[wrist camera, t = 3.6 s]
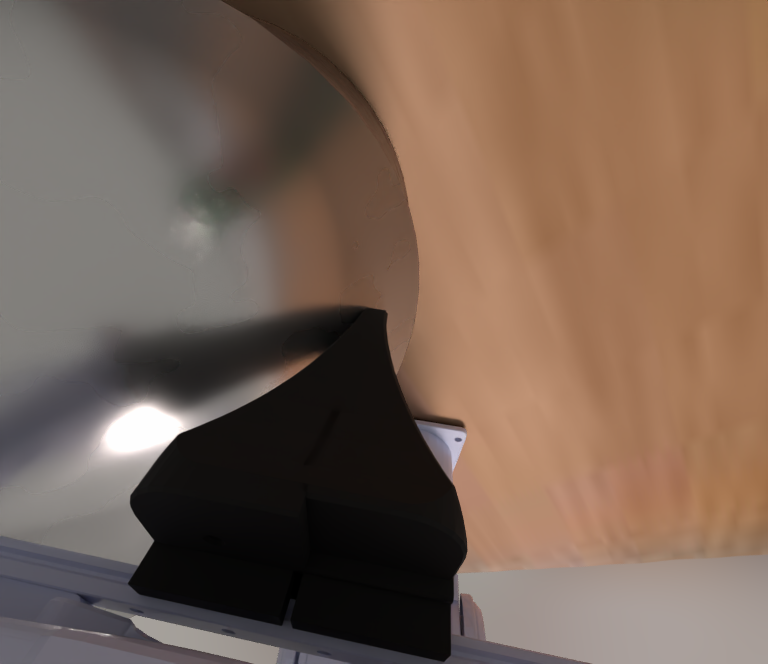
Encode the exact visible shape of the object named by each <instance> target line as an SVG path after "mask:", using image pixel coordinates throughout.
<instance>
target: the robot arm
mask: <svg viewBox="0 0 768 664" xmlns="http://www.w3.org/2000/svg"><path fill="white" fill-rule="evenodd" d="M387 317H388V313H387V312H386V310H381V309H374V308H373V309H366V310H364V311H363V312H362V313H361V314H360V315H359V317H358V318H357V319H356V320H355V321H354V323H353V324H352V325H351V326H350V327H349V328H348V329H347V330H346V331H345V332H344V333H343V334H342V335H341V336H340V337H339V338H338V339H337V340H336V341H335V342H334V343H333V344H332V345H331V346H330V347H329V348H328V349H326V350H325V351H324V352H323V353H322V354H321V355H320V356H319V357H317V358H316V359H315V360H314V361H313V362H311V363H310V364H309V365H307V366H306V367H305V368H304V369H302V370H301V371H299V372H298V373H297V374H295V375H294V376H292V377H291V378H290V379H288V380H286V381H285V382H283V383H282V384H280V385H279V386H277V387H276V388H274V389H272V390H271V391H269V392H267V393H266V394H264V395H262V396H261V397H259V398H257V399H255V400H253V401H251V402H249V403H247V404H245V405H243V406H242V407H240V408H238V409H236V410H234V411H232V412H230V413H227V414H225V415H223V416H221V417H219V418H216V419H214V420H212V421H209V422H207V423H204V424H202V425H200V426H197V427H195V428H192V429H190V430H188V431H185V432H183V433H180V434H178V435H177V436H176V437H175V439H174V440H173V441H172V442H171V443H170V444H169V445H168V446H167V447H166V449H165V450H164V451H163V452H162V453H161V455H160V456H159V457H158V459H157V460H156V461H155V463H154V464H153V465H152V467H151V468H150V469H149V471H148V472H147V473H146V475H145V476H144V477H143V479H142V480H141V481H140V483H139V484H138V486H137V487H136V488H135V490H134V491H133V492H132V494H131V495H130V506H131V509H132V511H133V513H134V515H135V516H136V518H137V519H138V520H139V521H140V523H141V524H142V525H143V527H144V528H145V529H146V531H147V532H148V533H149V535H150V536H151V537H152V538H153V540H154V542H153V544H152V545H151V547H150V548H149V550H148V552H147V553H146V555H145V556H144V558H143V560H142V561H141V563H140V564H139V566H138V565H133V564H129V563H124V562H119V561H115V560H110V559H105V558H101V557H96V556H92V555H87V554H82V553H78V552H73V551H69V550H64V549H59V548H55V547H50V546H45V545H41V544H36V543H32V542H27V541H22V540H18V539H13V538H8V537H4V536H0V664H252V663H248V662H244V661H240V660H236V659H231V658H227V657H223V656H219V655H214V654H210V653H205V652H201V651H197V650H192V649H187V648H182V647H178V646H173V645H168V644H163V643H161V642H159V641H158V640H155V639H154V638H152V637H150V636H148V635H146V634H145V633H143V632H142V631H141V630H139V629H138V628H136V627H135V625H134V624H133V622H132V621H131V620H130V619H128V618H126V617H123V616H120V615H117V614H114V613H111V612H108V611H105V610H102V609H99V608H96V607H93V606H98V607H102V608H107V609H111V610H116V611H120V612H124V613H129V614H133V615H138V616H142V617H147V618H151V619H156V620H160V621H165V622H169V623H174V624H178V625H182V626H187V627H191V628H195V629H200V630H204V631H209V632H213V633H218V634H222V635H226V636H231V637H235V638H240V639H244V640H249V641H253V642H257V643H262V644H266V645H271V646H275V647H280V648H279V653H278V658H277V663H276V664H590V663H586V662H581V661H576V660H572V659H566V658H563V657H558V656H553V655H549V654H544V653H540V652H535V651H530V650H525V649H520V648H516V647H511V646H507V645H502V644H498V643H493V642H489V641H486V637H485V629H484V622H483V617H482V612H481V610H480V608H479V607H478V606H477V605H476V604H475V602H473V599H472V597H471V596H470V595H469V594H460V609H459V593H458V575H457V574H456V573H457V571H458V570H459V568H460V566H461V565H462V563H463V562H464V560H465V558H466V554H467V538H466V531H465V525H464V520H463V515H462V511H461V507H460V503H459V500H458V496H457V493H456V489H455V487H454V485H453V475H452V473H453V470H454V467H455V465H456V462H457V460H458V457H459V455H460V452H461V449H462V447H463V444H464V442H465V439H466V436H467V431H466V429H464V428H462V427H457V426H451V425H445V424H439V423H433V422H426V421H420V420H414V418H413V416H412V414H411V412H410V410H409V408H408V405H407V403H406V401H405V398H404V396H403V393H402V391H401V388H400V385H399V382H398V379H397V376H396V373H395V370H394V366H393V362H392V358H391V354H390V349H389V344H388V338H387Z"/></svg>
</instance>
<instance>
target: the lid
mask: <svg viewBox="0 0 768 664" xmlns="http://www.w3.org/2000/svg"><path fill="white" fill-rule="evenodd" d="M418 293H419V258H418V249H417V240H416V234H415V230H414V226H413V221H412V217H411V213H410V209H409V206H408V203H407V200H406V198H405V195H404V193H403V190H402V188H401V185H400V182H399V180H398V177H397V175H396V173H395V171H394V169H393V168H392V166H391V164H390V162H389V160H388V159H387V157H386V155H385V153H384V151H383V150H382V148H381V146H380V144H379V142H378V141H377V139H376V138H375V137H374V135H373V134H372V133H371V131H370V130H369V129H368V127H367V126H366V125H365V123H364V122H363V121H362V119H361V118H360V117H359V115H358V114H357V113H356V111H355V110H354V109H353V107H352V106H351V105H350V103H349V102H348V101H347V100H346V99H345V98H344V97H343V96H342V95H341V94H340V93H339V92H338V91H337V90H336V89H335V88H334V87H333V86H332V85H331V84H330V83H329V82H328V81H327V80H326V79H325V78H324V77H323V76H322V75H321V74H320V73H319V72H318V71H317V70H316V69H315V68H314V67H313V66H312V65H311V64H310V63H309V62H308V61H306V60H305V59H304V58H303V57H301V56H300V55H299V54H297V53H296V52H295V51H294V50H292V49H291V48H290V47H288V46H287V45H286V44H284V43H283V42H282V41H281V40H279V39H278V38H277V37H275V36H274V35H273V34H272V33H270V32H269V31H268V30H266V29H265V28H264V27H263V26H261V25H260V24H259V23H257V22H256V21H255V20H254V19H252V18H250V17H248V16H247V15H245V14H243V13H242V12H240V11H238V10H237V9H235V8H233V7H231V6H230V5H228V4H226V3H225V2H223V1H221V0H0V536H4V537H8V538H13V539H18V540H22V541H27V542H32V543H36V544H41V545H45V546H50V547H55V548H59V549H64V550H69V551H73V552H78V553H82V554H87V555H92V556H96V557H101V558H105V559H110V560H115V561H119V562H124V563H129V564H133V565H138V566H139V564H140V563H141V561H142V560H143V558H144V556H145V555H146V553H147V552H148V550H149V548H150V547H151V545H152V544H153V542H154V540H153V538H152V537H151V536H150V535H149V533H148V532H147V531H146V529H145V528H144V527H143V525H142V524H141V523H140V521H139V520H138V519H137V518H136V516H135V515H134V513H133V511H132V509H131V506H130V495H131V494H132V492H133V491H134V490H135V488H136V487H137V486H138V484H139V483H140V481H141V480H142V479H143V477H144V476H145V475H146V473H147V472H148V471H149V469H150V468H151V467H152V465H153V464H154V463H155V461H156V460H157V459H158V457H159V456H160V455H161V453H162V452H163V451H164V450H165V449H166V447H167V446H168V445H169V444H170V443H171V442H172V441H173V440H174V439H175V437H176V436H177V435H178V434H180V433H183V432H185V431H188V430H190V429H192V428H195V427H197V426H200V425H202V424H204V423H207V422H209V421H212V420H214V419H216V418H219V417H221V416H223V415H225V414H227V413H230V412H232V411H234V410H236V409H238V408H240V407H242V406H243V405H245V404H247V403H249V402H251V401H253V400H255V399H257V398H259V397H261V396H262V395H264V394H266V393H267V392H269V391H271V390H272V389H274V388H276V387H277V386H279V385H280V384H282V383H283V382H285V381H286V380H288V379H290V378H291V377H292V376H294V375H295V374H297V373H298V372H299V371H301V370H302V369H304V368H305V367H306V366H307V365H309V364H310V363H311V362H313V361H314V360H315V359H316V358H317V357H319V356H320V355H321V354H322V353H323V352H324V351H325V350H326V349H328V348H329V347H330V346H331V345H332V344H333V343H334V342H335V341H336V340H337V339H338V338H339V337H340V336H341V335H342V334H343V333H344V332H345V331H346V330H347V329H348V328H349V327H350V326H351V325H352V324H353V323H354V321H355V320H356V319H357V318H358V317H359V315H360V314H361V313H362V312H363V311H364V310H366V309H373V308H374V309H381V310H386V312H387V313H388V317H387V338H388V344H389V349H390V354H391V358H392V362H393V366H394V370H395V373H396V376H397V373H398V371H399V369H400V366H401V364H402V362H403V359H404V356H405V353H406V350H407V347H408V344H409V341H410V338H411V334H412V329H413V325H414V321H415V316H416V310H417V301H418ZM93 607H96V608H99V609H102V610H105V611H108V612H111V613H114V614H117V615H120V616H123V617H126V618H128V619H129V618H131V617H133V616H135V615H133V614H129V613H124V612H120V611H116V610H111V609H107V608H102V607H98V606H93Z"/></svg>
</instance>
